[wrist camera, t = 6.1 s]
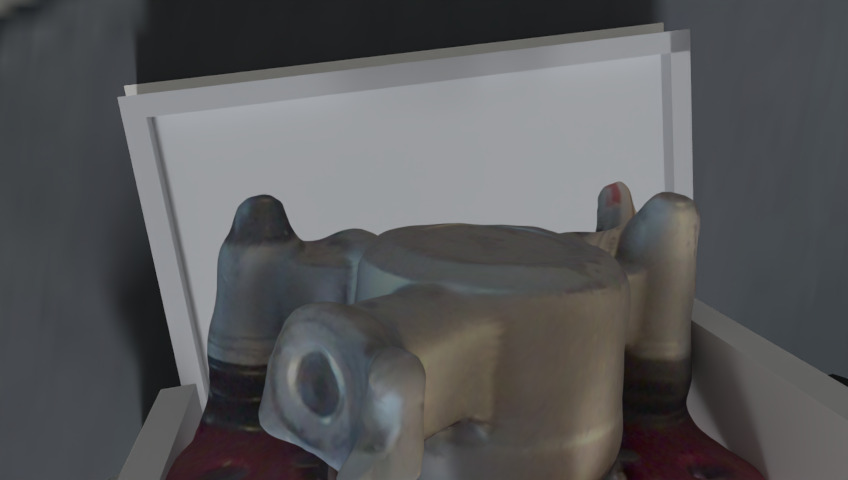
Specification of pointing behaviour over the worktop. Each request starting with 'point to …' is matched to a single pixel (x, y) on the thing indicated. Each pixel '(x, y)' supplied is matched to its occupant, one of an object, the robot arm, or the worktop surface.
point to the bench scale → (404, 148)
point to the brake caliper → (457, 352)
